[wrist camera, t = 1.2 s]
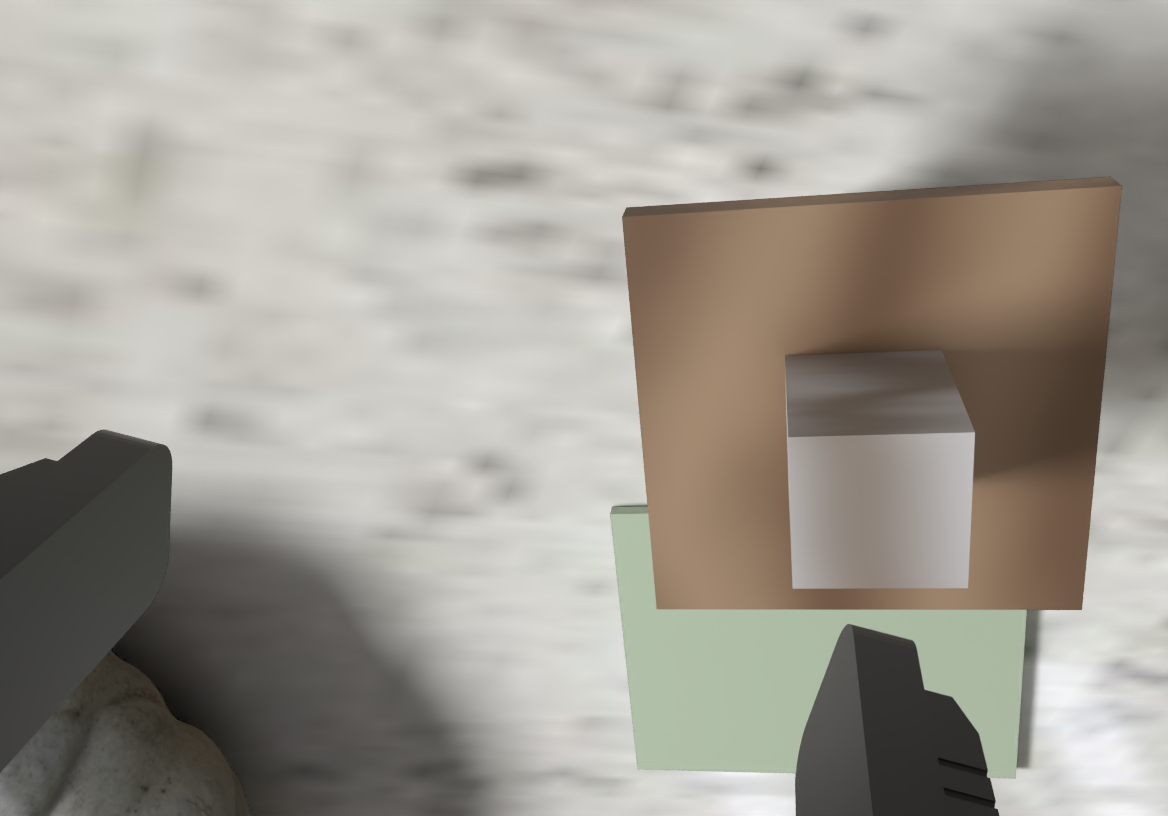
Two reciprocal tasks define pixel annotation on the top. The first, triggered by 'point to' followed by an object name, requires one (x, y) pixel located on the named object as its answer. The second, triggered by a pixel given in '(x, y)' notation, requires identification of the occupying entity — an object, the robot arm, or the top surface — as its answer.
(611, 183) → the top surface
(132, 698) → the gourd
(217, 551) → the top surface
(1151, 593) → the top surface
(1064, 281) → the lid
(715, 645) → the mat
